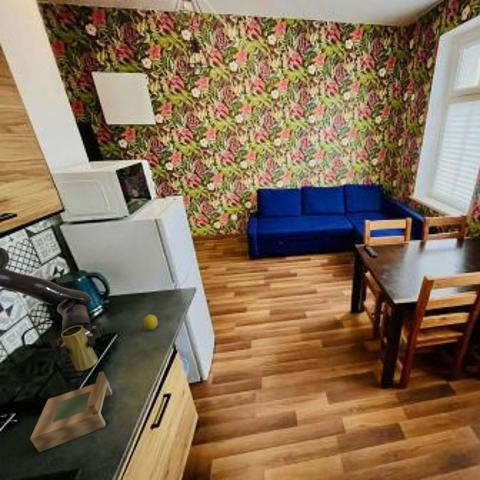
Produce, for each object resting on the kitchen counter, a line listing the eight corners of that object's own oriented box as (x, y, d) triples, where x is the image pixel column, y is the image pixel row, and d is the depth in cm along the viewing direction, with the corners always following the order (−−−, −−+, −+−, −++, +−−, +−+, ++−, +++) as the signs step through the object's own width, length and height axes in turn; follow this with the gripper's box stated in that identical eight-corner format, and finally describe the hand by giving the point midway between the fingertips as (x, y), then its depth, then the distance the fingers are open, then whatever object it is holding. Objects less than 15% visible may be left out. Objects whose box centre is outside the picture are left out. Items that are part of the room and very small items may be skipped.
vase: (72, 365, 90) (56, 332, 84) (94, 354, 94) (80, 321, 89) (78, 374, 87) (62, 340, 81) (101, 362, 91) (87, 329, 86)
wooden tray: (39, 452, 74) (23, 429, 70) (55, 412, 85) (42, 390, 81) (104, 426, 81) (93, 404, 77) (112, 392, 91) (103, 371, 88)
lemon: (143, 329, 120) (138, 315, 117) (156, 323, 124) (152, 309, 120) (148, 335, 116) (143, 321, 113) (161, 328, 120) (157, 314, 117)
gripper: (45, 324, 91) (43, 353, 80) (97, 307, 100) (103, 330, 89) (53, 341, 94) (53, 371, 83) (104, 323, 103) (110, 347, 92)
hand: (79, 350), depth 86 cm, fingers closed on vase, 5 cm apart
